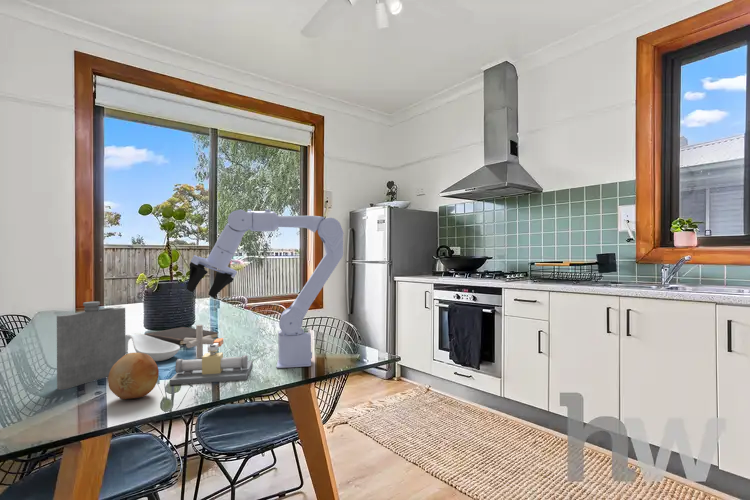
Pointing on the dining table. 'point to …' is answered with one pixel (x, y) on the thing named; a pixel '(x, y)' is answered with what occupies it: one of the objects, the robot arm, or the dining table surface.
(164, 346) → the spoon rest
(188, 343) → the pipe connector
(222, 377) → the board
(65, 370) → the hip flask
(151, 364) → the onion
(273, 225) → the robot arm
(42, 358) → the dining table surface
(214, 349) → the valve lever
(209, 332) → the hardcover book
